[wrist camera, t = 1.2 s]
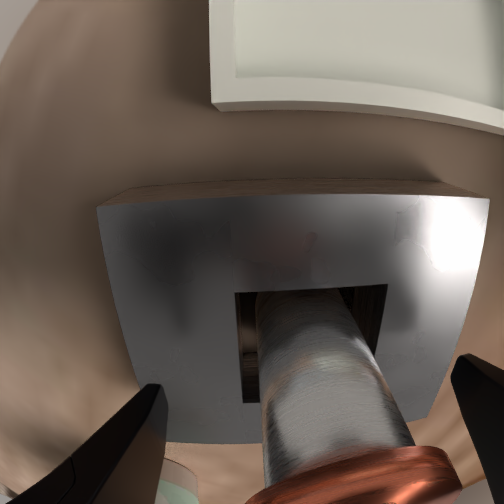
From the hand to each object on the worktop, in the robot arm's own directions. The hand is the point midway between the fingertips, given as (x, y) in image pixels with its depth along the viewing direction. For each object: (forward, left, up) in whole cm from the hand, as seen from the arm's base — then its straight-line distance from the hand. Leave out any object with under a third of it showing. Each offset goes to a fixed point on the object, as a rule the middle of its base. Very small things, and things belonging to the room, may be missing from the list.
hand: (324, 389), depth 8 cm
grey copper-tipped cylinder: (0, 0, -5) cm, 5 cm away
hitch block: (0, 0, -5) cm, 5 cm away
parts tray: (-4, -13, -5) cm, 14 cm away
